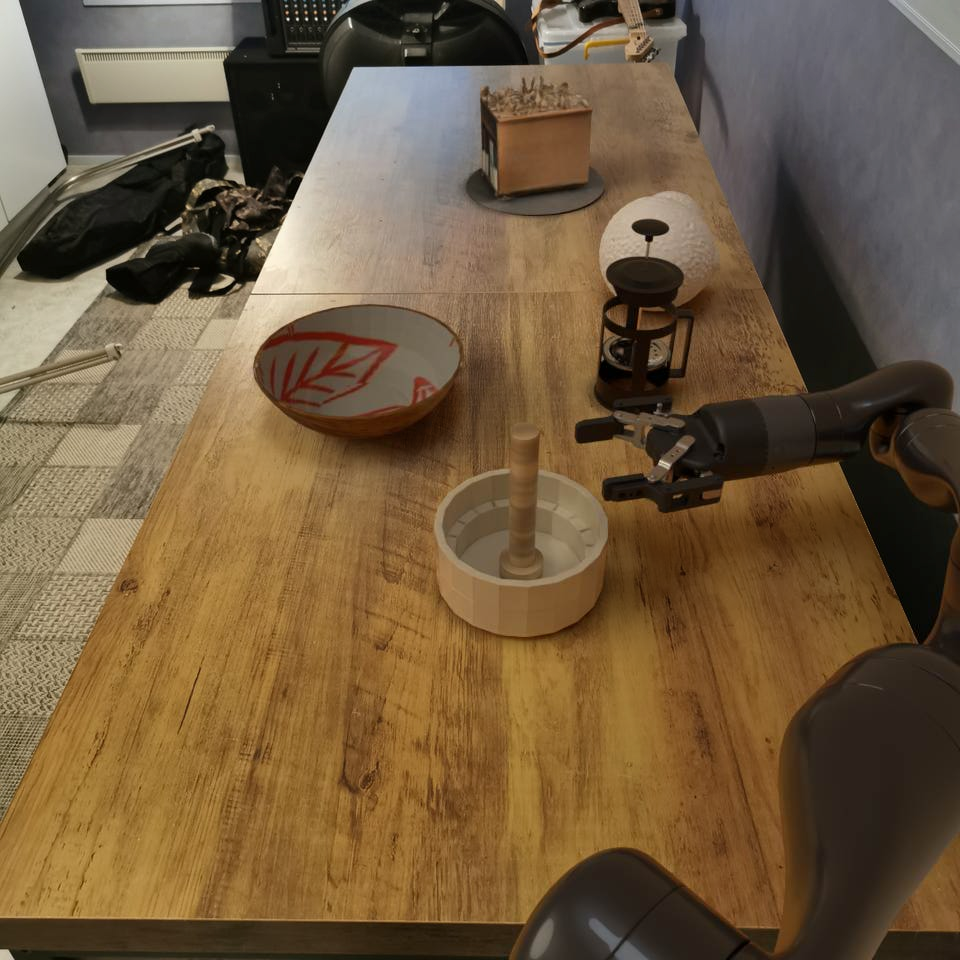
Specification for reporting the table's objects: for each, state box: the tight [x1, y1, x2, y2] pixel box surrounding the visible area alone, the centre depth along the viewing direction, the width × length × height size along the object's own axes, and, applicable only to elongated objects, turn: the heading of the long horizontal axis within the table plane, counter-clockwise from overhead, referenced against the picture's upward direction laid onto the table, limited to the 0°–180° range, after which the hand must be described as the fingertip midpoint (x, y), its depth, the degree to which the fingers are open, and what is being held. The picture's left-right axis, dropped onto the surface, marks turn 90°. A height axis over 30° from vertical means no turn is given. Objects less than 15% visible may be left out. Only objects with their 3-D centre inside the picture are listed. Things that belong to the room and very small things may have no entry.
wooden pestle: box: [499, 421, 544, 581], centre depth 87 cm, size 4×4×18 cm
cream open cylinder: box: [433, 467, 609, 638], centre depth 91 cm, size 17×17×8 cm
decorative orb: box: [598, 190, 721, 312], centre depth 131 cm, size 20×18×16 cm
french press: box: [593, 219, 695, 414], centre depth 110 cm, size 12×9×23 cm
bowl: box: [252, 303, 465, 440], centre depth 113 cm, size 25×25×8 cm
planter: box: [465, 74, 605, 216], centre depth 162 cm, size 25×25×19 cm
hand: (588, 460), depth 85 cm, fingers open, 8 cm apart
